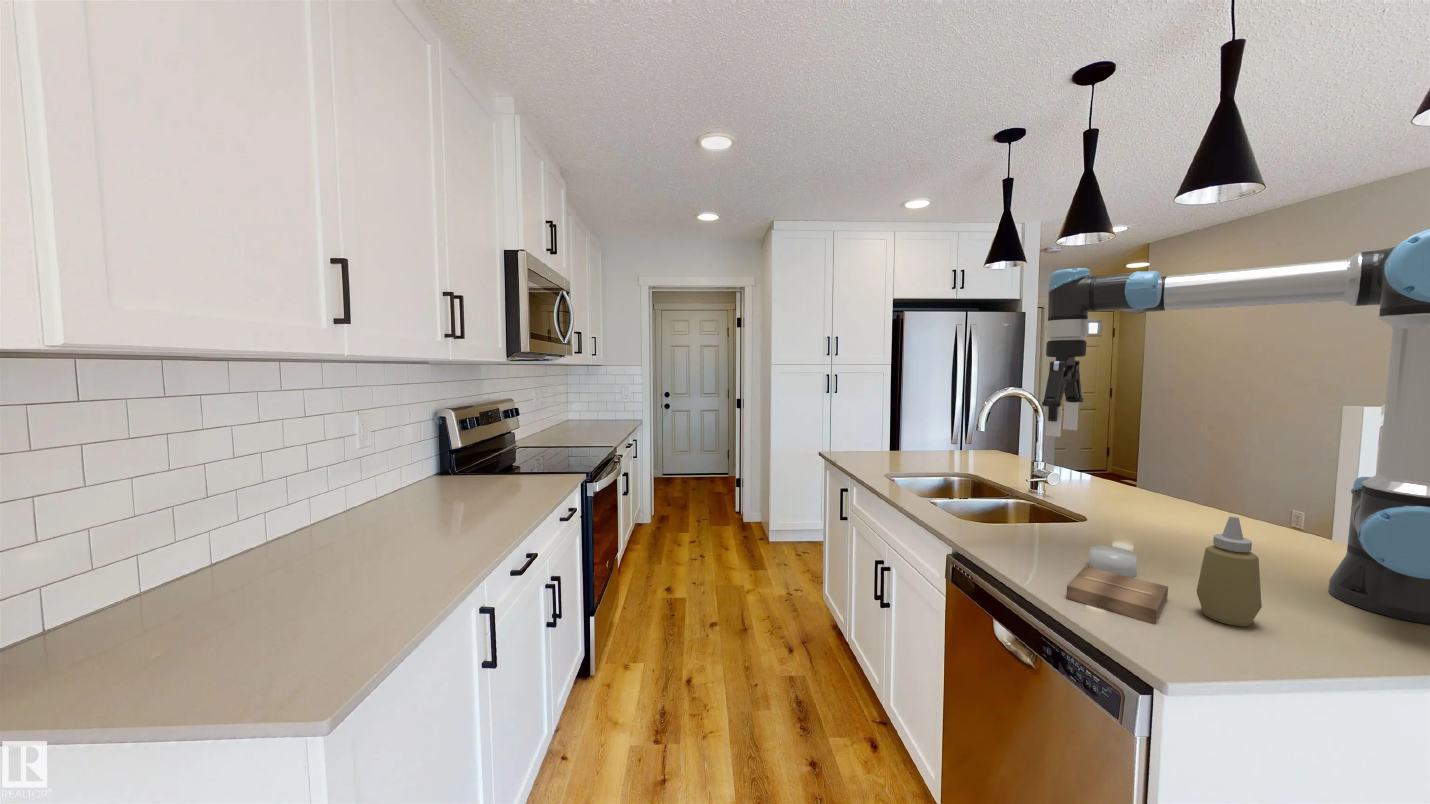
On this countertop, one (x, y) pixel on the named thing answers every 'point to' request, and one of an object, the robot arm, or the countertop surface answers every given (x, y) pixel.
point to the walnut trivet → (1118, 594)
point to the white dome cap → (1113, 560)
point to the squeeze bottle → (1230, 578)
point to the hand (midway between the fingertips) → (1061, 432)
